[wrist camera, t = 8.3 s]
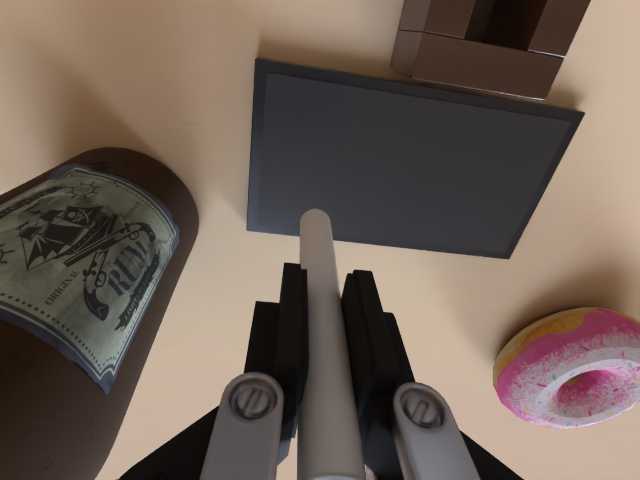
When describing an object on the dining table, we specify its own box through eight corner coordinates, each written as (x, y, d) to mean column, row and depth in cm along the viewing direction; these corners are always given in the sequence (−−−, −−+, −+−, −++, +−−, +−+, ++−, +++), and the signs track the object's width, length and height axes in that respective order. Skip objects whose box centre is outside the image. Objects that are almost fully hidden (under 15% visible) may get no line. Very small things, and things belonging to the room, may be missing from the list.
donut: (657, 336, 34) (708, 382, 30) (539, 407, 39) (567, 454, 35) (580, 271, 29) (626, 314, 25) (458, 361, 35) (479, 409, 30)
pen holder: (424, -87, 17) (463, -123, 13) (552, -59, 18) (629, -83, 14) (388, 67, 21) (411, 78, 16) (497, 85, 21) (545, 101, 17)
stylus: (302, 199, 17) (301, 472, 7) (331, 202, 17) (374, 475, 7) (298, 224, 18) (293, 508, 7) (326, 227, 18) (359, 509, 7)
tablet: (256, 57, 20) (254, 58, 19) (576, 109, 22) (587, 112, 22) (247, 224, 26) (246, 231, 25) (503, 253, 28) (509, 260, 27)
